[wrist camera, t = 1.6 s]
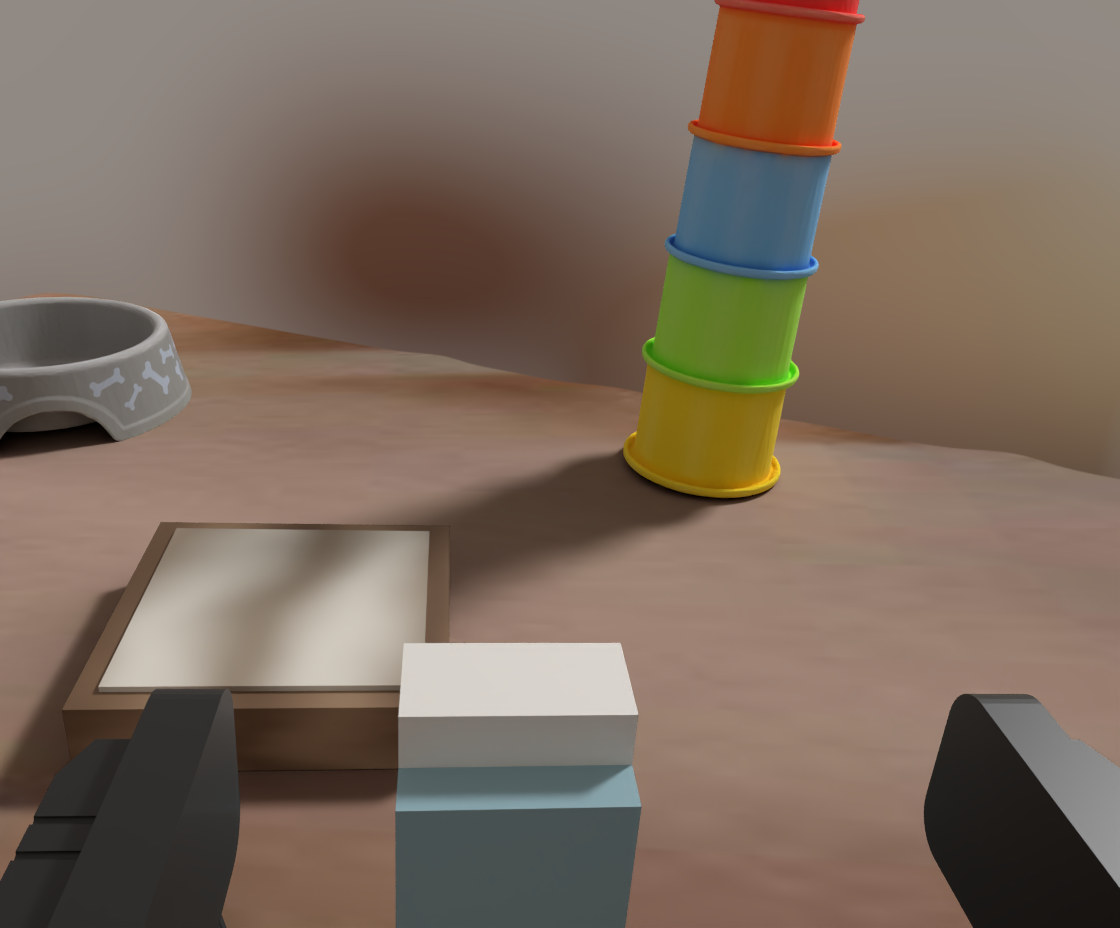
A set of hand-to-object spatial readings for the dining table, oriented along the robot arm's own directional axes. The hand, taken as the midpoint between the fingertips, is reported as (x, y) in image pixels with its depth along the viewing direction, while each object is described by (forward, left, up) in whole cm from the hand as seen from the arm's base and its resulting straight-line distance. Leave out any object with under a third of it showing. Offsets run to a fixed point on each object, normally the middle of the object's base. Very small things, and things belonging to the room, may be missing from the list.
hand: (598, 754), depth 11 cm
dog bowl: (+1, -65, -21) cm, 68 cm away
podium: (-5, -30, -20) cm, 37 cm away
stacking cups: (-35, -39, -21) cm, 56 cm away
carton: (-5, -10, -21) cm, 23 cm away
